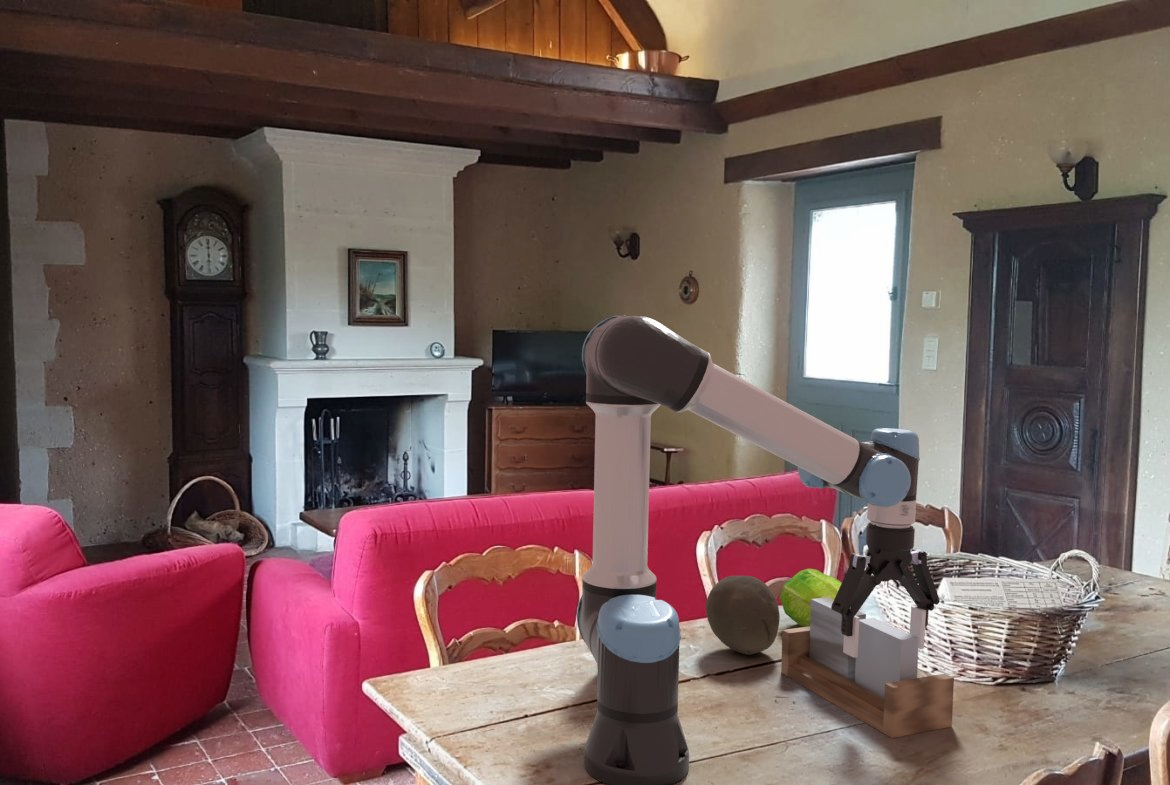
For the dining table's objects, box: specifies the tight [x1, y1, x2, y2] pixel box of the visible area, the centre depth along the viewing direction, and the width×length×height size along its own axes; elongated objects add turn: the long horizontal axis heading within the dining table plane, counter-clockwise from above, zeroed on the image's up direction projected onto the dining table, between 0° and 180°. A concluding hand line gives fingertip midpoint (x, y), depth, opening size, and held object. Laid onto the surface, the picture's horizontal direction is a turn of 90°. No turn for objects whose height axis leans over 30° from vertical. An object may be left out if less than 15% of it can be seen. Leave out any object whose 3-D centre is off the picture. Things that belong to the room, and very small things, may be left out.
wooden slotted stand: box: [780, 597, 955, 739], centre depth 166 cm, size 12×30×14 cm, turn 23°
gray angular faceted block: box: [855, 617, 919, 698], centre depth 161 cm, size 4×11×12 cm, turn 22°
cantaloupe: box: [705, 575, 780, 656], centre depth 188 cm, size 14×14×15 cm
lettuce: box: [779, 568, 842, 628], centre depth 201 cm, size 14×20×12 cm
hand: (883, 650), depth 161 cm, fingers open, 13 cm apart
